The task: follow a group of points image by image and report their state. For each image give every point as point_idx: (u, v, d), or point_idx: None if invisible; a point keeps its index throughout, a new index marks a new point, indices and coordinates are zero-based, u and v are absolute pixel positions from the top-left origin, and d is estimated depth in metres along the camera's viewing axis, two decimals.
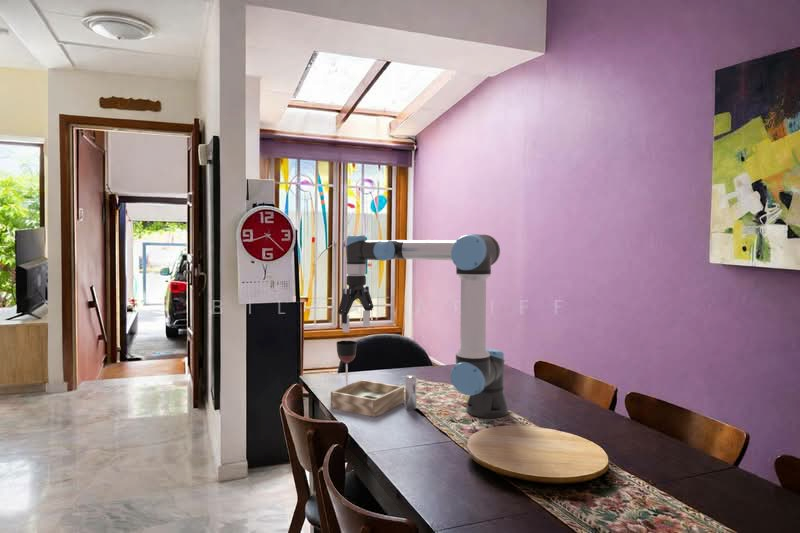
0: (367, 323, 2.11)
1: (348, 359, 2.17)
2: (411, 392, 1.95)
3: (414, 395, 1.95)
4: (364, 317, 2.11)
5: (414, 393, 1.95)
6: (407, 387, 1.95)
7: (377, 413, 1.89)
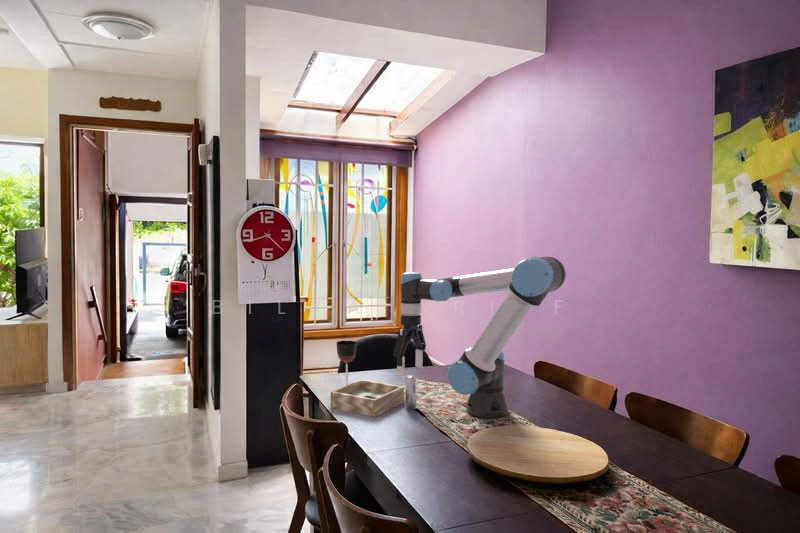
0: (420, 363, 2.02)
1: (348, 359, 2.17)
2: (411, 392, 1.95)
3: (414, 395, 1.95)
4: (417, 356, 2.02)
5: (414, 393, 1.95)
6: (407, 387, 1.95)
7: (377, 413, 1.89)
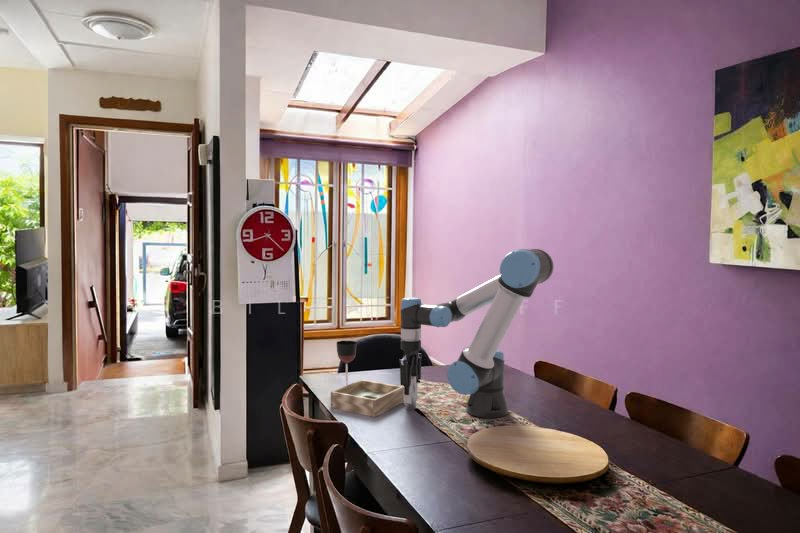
0: None
1: (348, 359, 2.17)
2: None
3: (414, 395, 1.95)
4: None
5: (414, 393, 1.95)
6: None
7: (377, 413, 1.89)
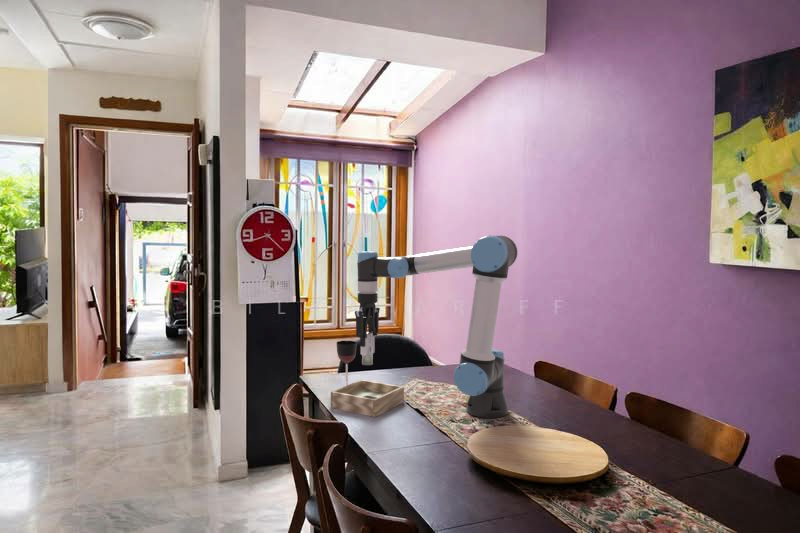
0: None
1: (348, 359, 2.17)
2: None
3: (370, 351, 1.99)
4: None
5: (370, 349, 1.99)
6: None
7: (377, 413, 1.89)
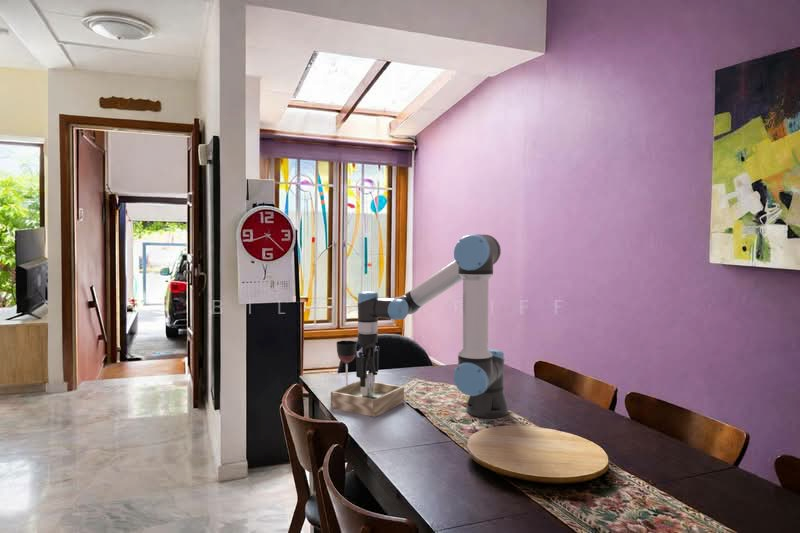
0: None
1: (348, 359, 2.17)
2: None
3: (370, 391, 1.99)
4: None
5: (370, 389, 1.99)
6: None
7: (377, 413, 1.89)
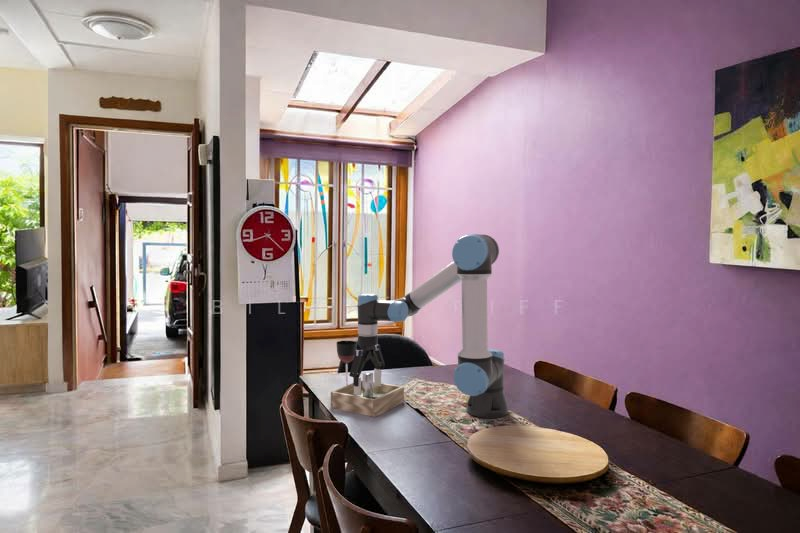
0: (378, 382, 2.06)
1: (348, 359, 2.17)
2: (367, 389, 1.99)
3: (371, 392, 1.99)
4: (375, 376, 2.06)
5: (371, 390, 1.99)
6: (364, 384, 1.99)
7: (377, 413, 1.89)
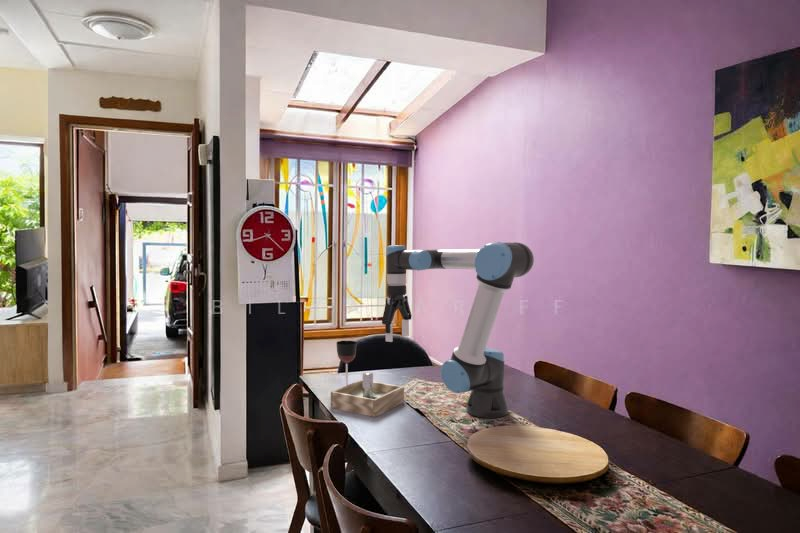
0: (406, 332, 2.12)
1: (348, 359, 2.17)
2: (367, 389, 1.99)
3: (371, 392, 1.99)
4: (403, 326, 2.13)
5: (371, 390, 1.99)
6: (364, 384, 1.99)
7: (377, 413, 1.89)
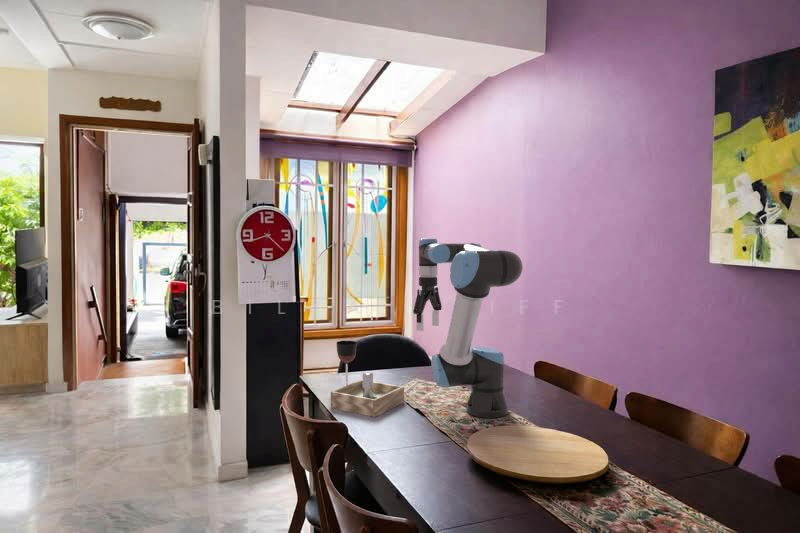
0: (436, 322, 2.21)
1: (348, 359, 2.17)
2: (367, 389, 1.99)
3: (371, 392, 1.99)
4: (433, 316, 2.21)
5: (371, 390, 1.99)
6: (364, 384, 1.99)
7: (377, 413, 1.89)
